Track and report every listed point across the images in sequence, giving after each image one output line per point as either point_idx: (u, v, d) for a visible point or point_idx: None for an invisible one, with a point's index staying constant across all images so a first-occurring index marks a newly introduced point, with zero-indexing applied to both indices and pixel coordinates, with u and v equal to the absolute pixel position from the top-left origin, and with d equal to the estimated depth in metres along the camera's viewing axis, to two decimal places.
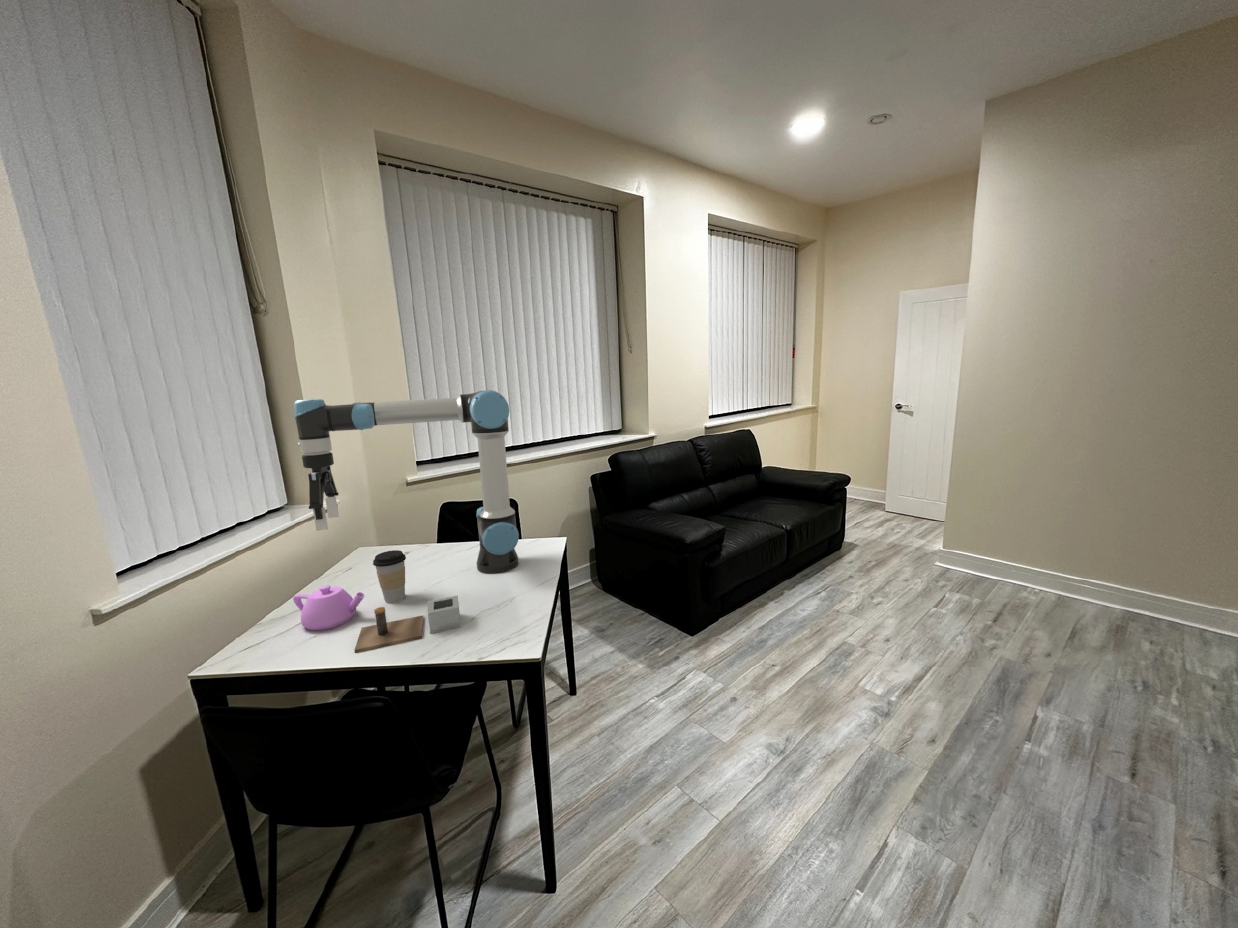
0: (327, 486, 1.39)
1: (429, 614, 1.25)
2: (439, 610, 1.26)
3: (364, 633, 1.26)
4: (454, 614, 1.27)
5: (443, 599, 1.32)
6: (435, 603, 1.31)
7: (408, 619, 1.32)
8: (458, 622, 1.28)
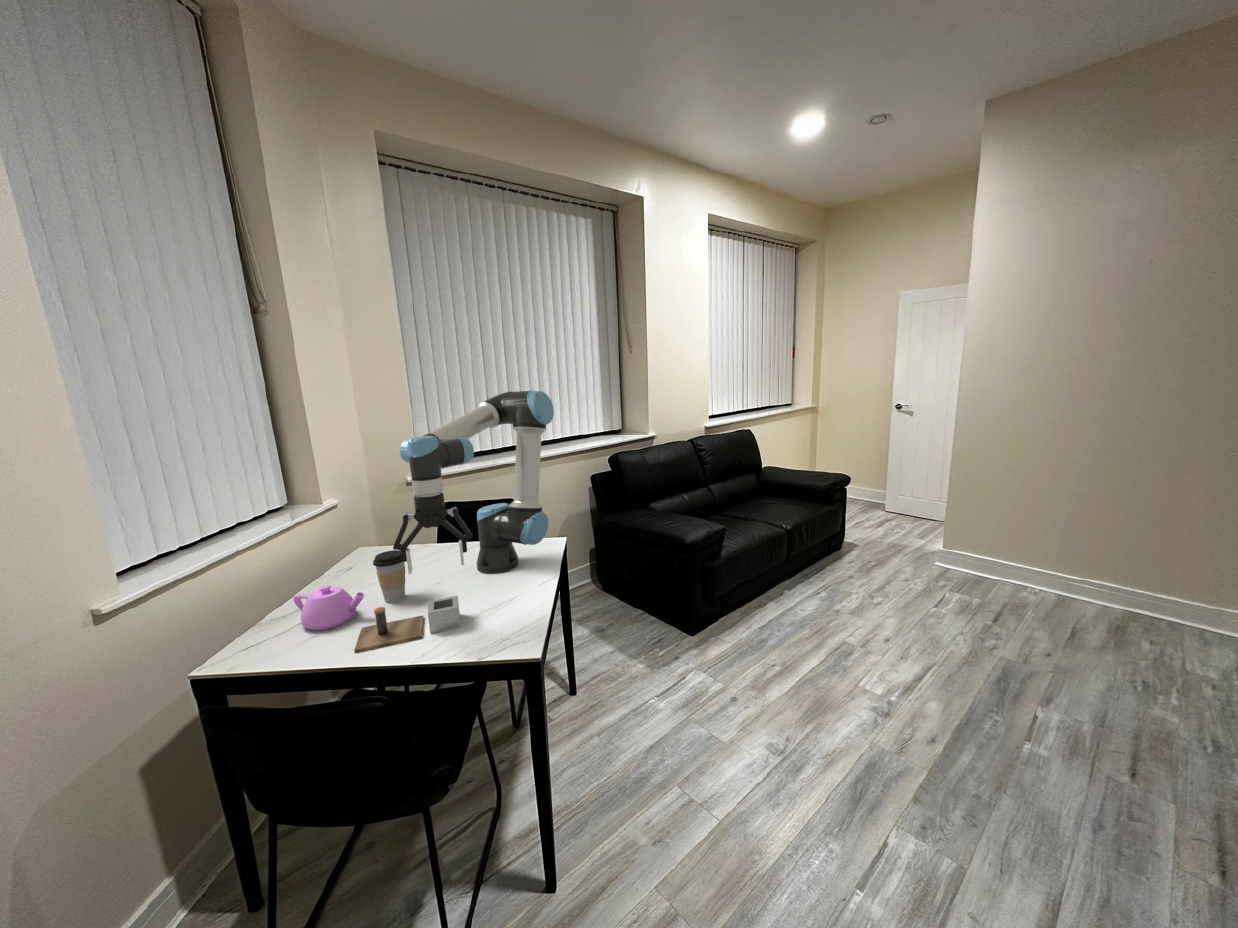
0: None
1: (429, 614, 1.25)
2: (439, 610, 1.26)
3: (364, 633, 1.26)
4: (454, 614, 1.27)
5: (443, 599, 1.32)
6: (435, 603, 1.31)
7: (408, 619, 1.32)
8: (458, 622, 1.28)
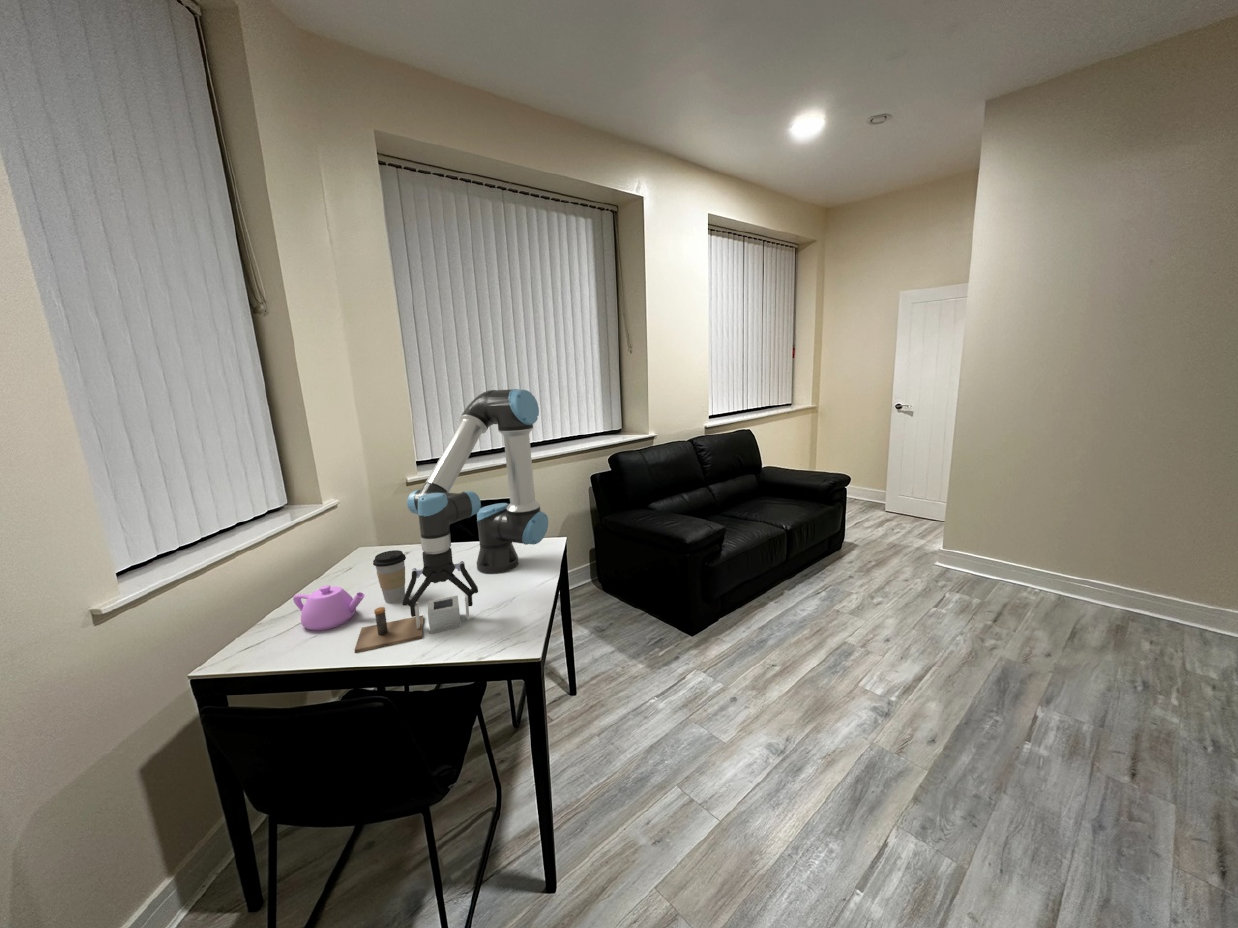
0: None
1: (429, 614, 1.25)
2: (439, 610, 1.26)
3: (364, 633, 1.26)
4: (454, 614, 1.27)
5: (443, 599, 1.32)
6: (435, 603, 1.31)
7: (408, 619, 1.32)
8: (458, 622, 1.28)
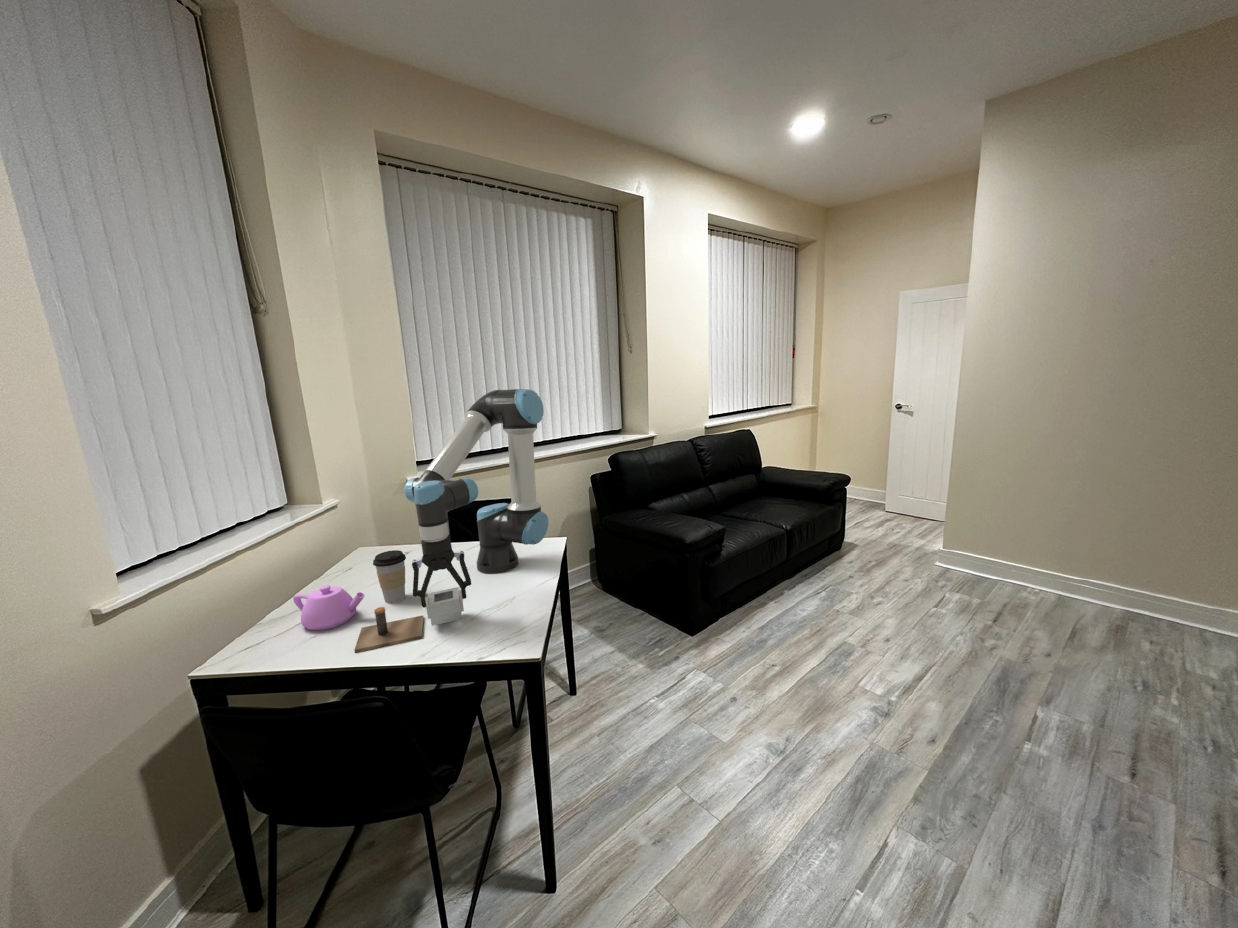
0: None
1: (430, 606, 1.25)
2: (440, 602, 1.26)
3: (364, 633, 1.26)
4: (454, 605, 1.27)
5: (443, 591, 1.33)
6: (435, 595, 1.31)
7: (408, 619, 1.32)
8: (459, 614, 1.28)
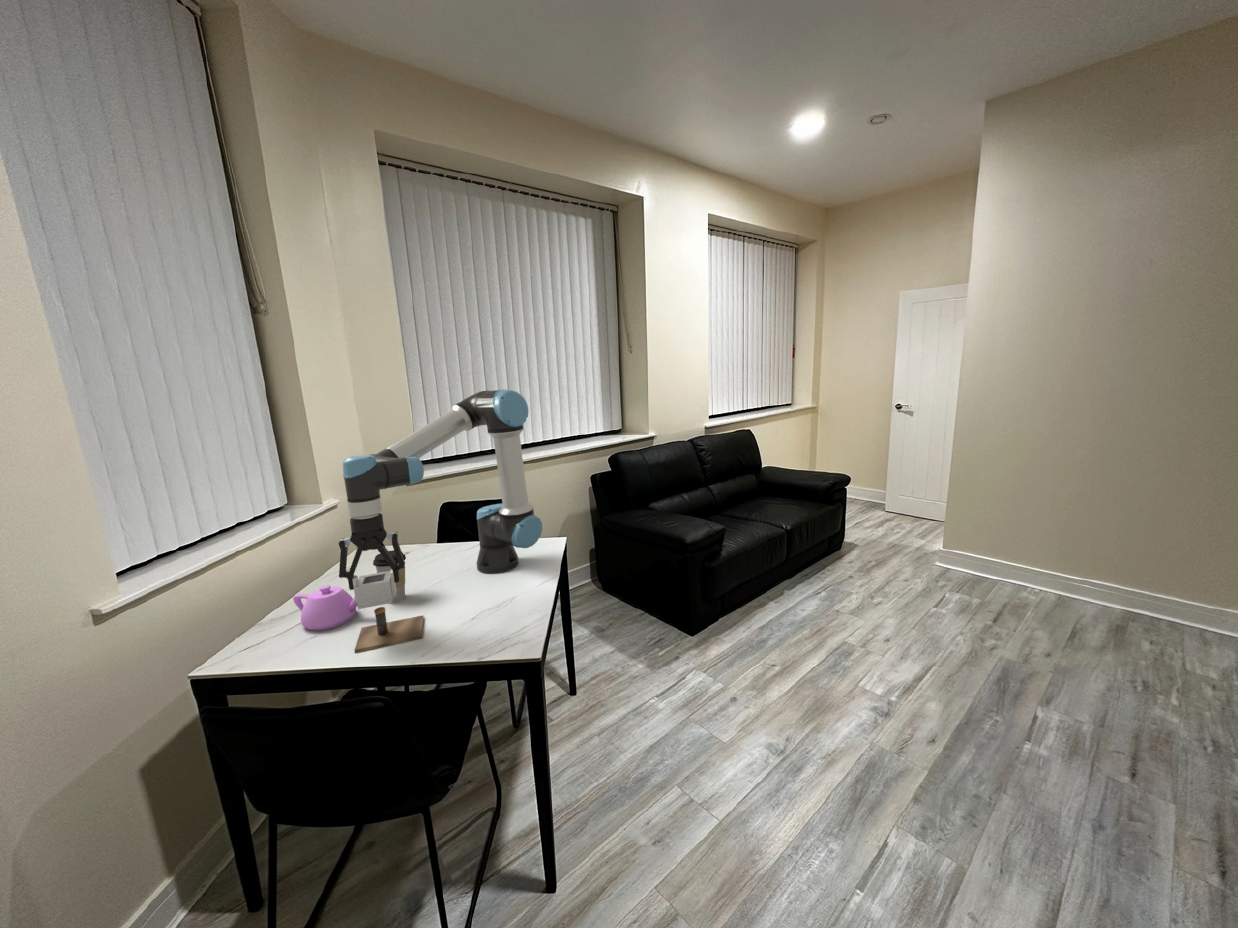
0: None
1: (356, 588, 1.18)
2: (368, 584, 1.19)
3: (364, 633, 1.26)
4: (384, 588, 1.20)
5: (375, 574, 1.25)
6: (366, 578, 1.24)
7: (408, 619, 1.32)
8: (389, 597, 1.21)
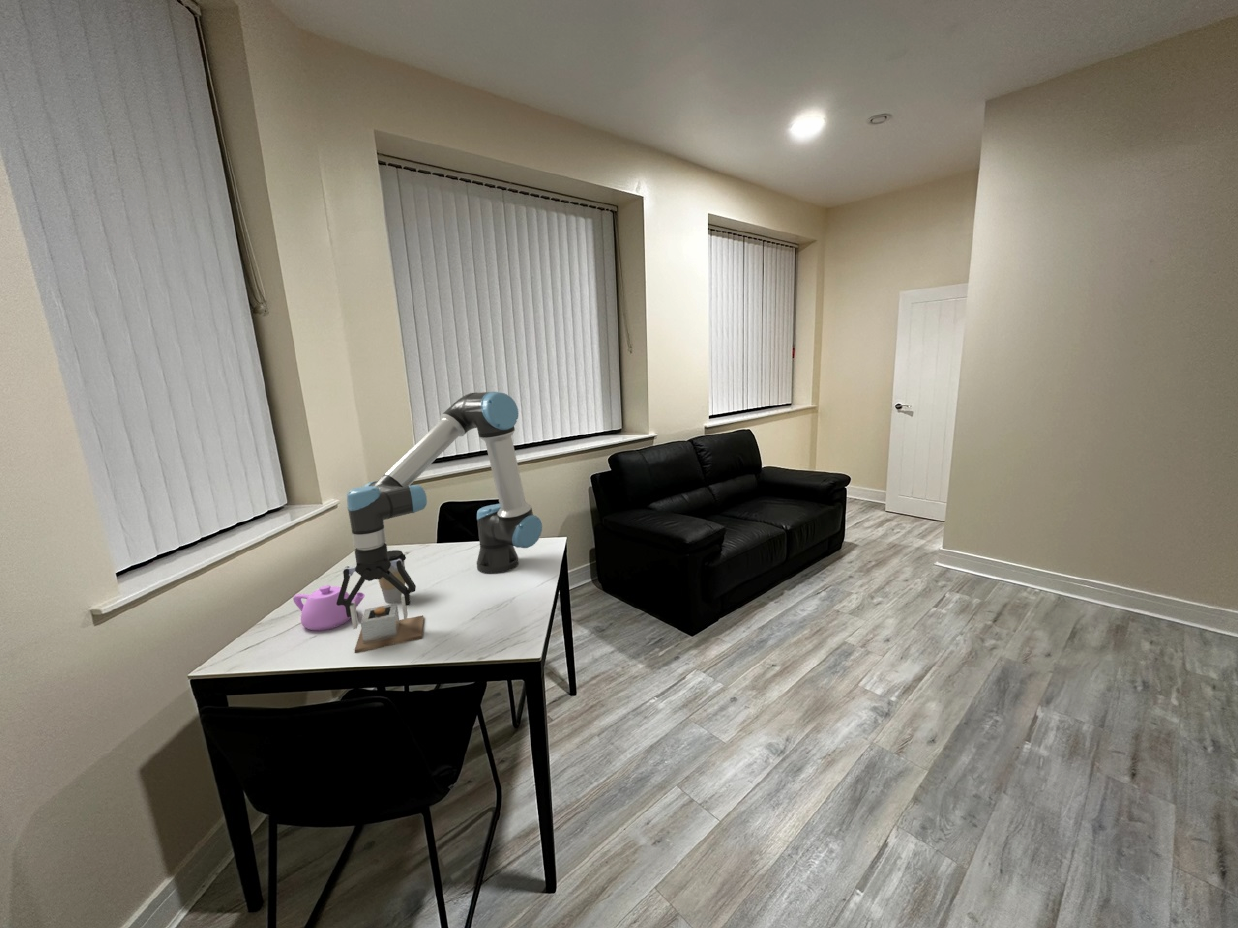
0: None
1: (362, 624, 1.19)
2: (373, 619, 1.21)
3: None
4: (389, 623, 1.22)
5: None
6: (372, 612, 1.26)
7: (408, 619, 1.32)
8: (394, 632, 1.23)
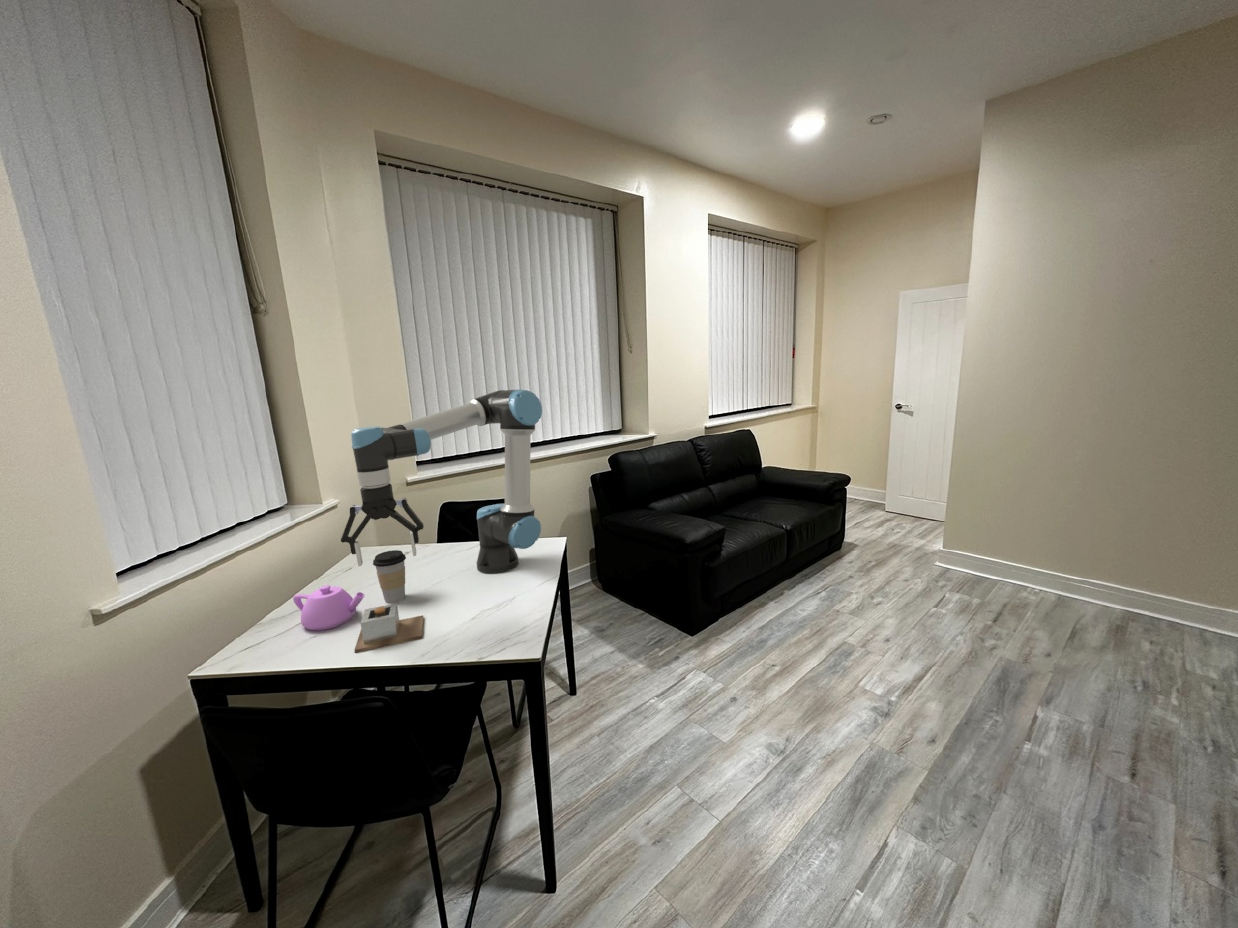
0: None
1: (362, 624, 1.19)
2: (373, 619, 1.21)
3: None
4: (389, 623, 1.22)
5: None
6: (372, 612, 1.26)
7: (408, 619, 1.32)
8: (394, 632, 1.23)
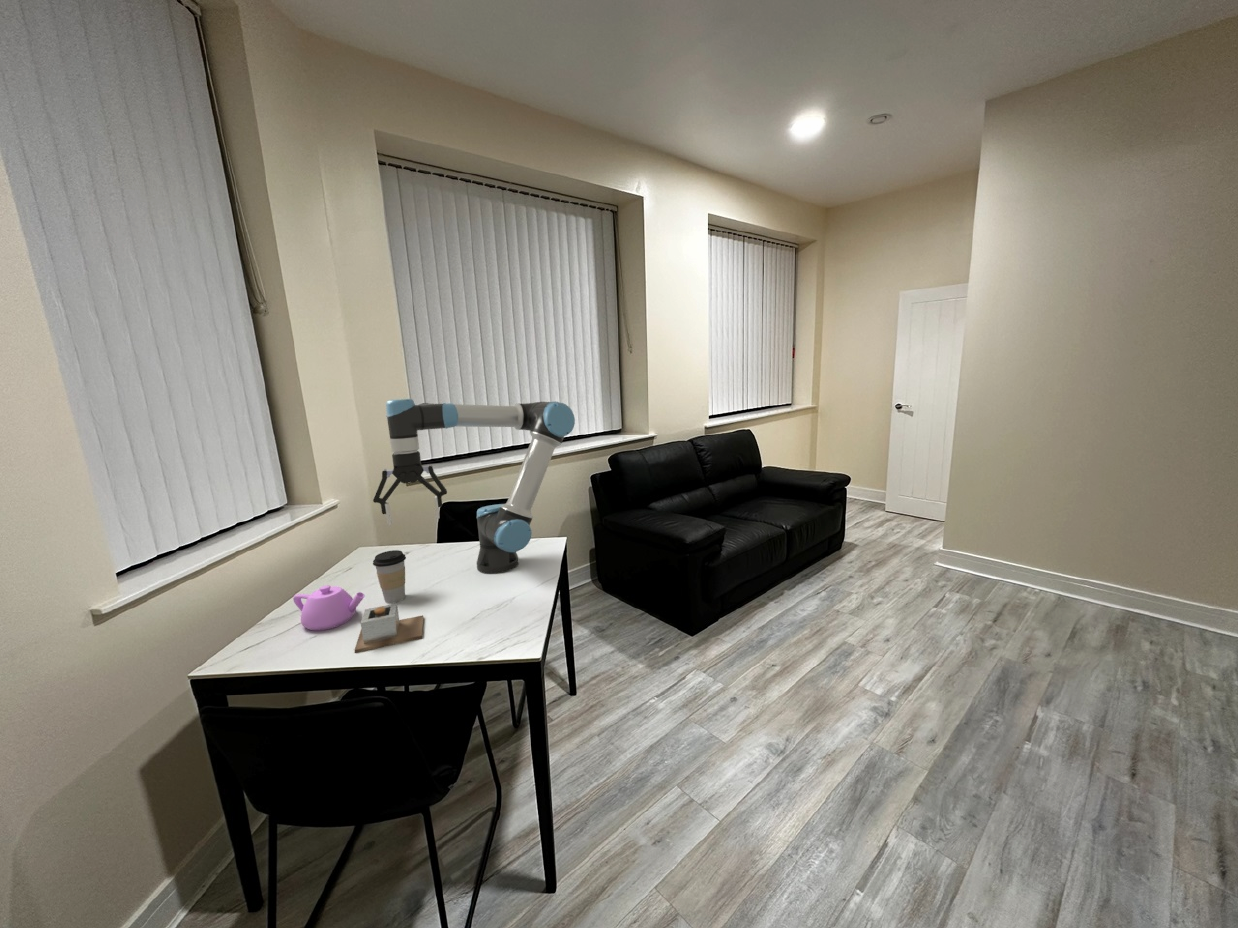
0: None
1: (362, 624, 1.19)
2: (373, 619, 1.21)
3: None
4: (389, 623, 1.22)
5: None
6: (372, 612, 1.26)
7: (408, 619, 1.32)
8: (394, 632, 1.23)
